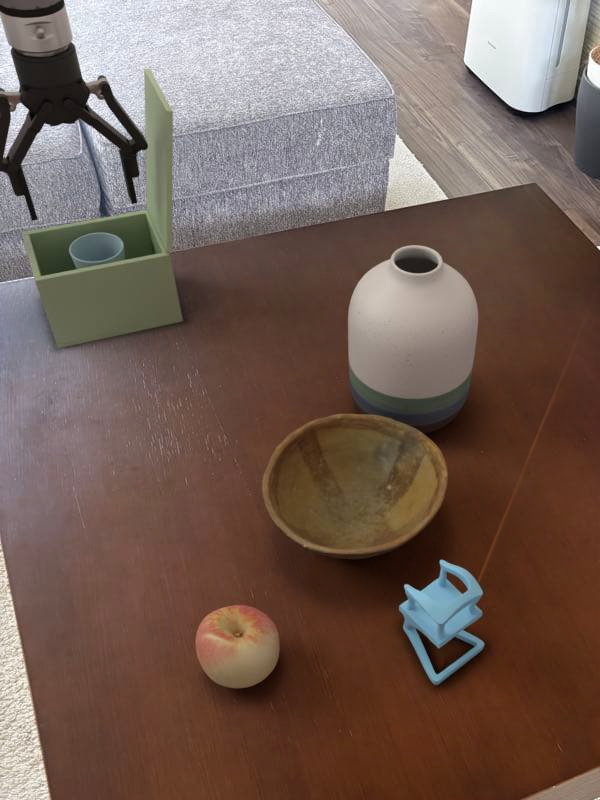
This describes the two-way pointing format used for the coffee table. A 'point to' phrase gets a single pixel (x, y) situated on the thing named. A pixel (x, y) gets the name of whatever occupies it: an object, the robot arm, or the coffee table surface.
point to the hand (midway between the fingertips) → (84, 207)
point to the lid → (159, 158)
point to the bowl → (354, 485)
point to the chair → (443, 616)
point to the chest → (104, 280)
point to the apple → (237, 646)
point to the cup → (96, 250)
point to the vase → (412, 339)
